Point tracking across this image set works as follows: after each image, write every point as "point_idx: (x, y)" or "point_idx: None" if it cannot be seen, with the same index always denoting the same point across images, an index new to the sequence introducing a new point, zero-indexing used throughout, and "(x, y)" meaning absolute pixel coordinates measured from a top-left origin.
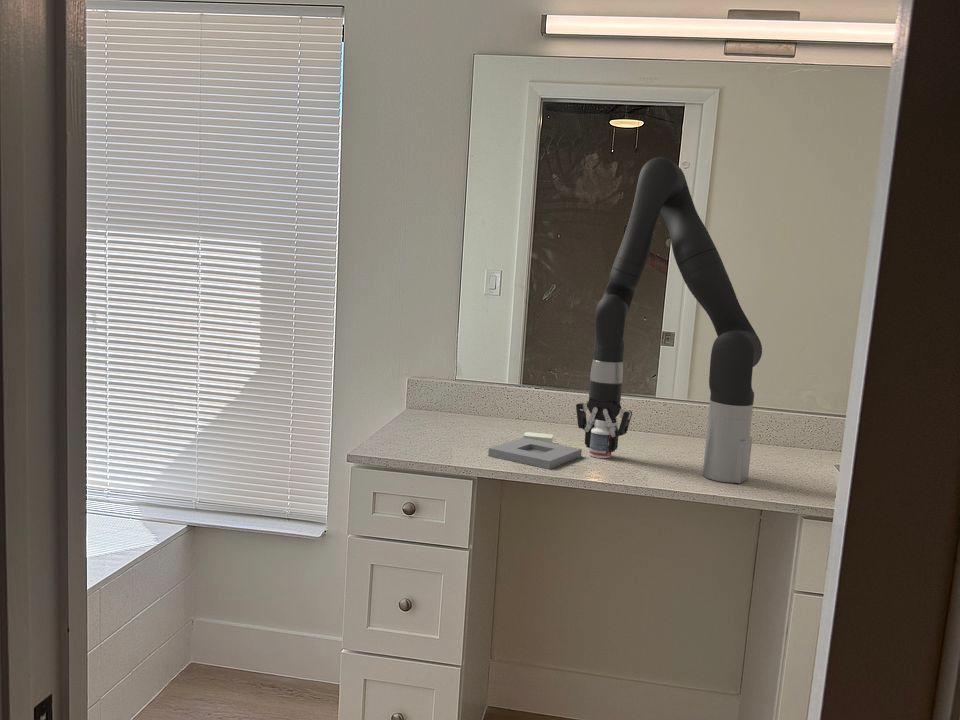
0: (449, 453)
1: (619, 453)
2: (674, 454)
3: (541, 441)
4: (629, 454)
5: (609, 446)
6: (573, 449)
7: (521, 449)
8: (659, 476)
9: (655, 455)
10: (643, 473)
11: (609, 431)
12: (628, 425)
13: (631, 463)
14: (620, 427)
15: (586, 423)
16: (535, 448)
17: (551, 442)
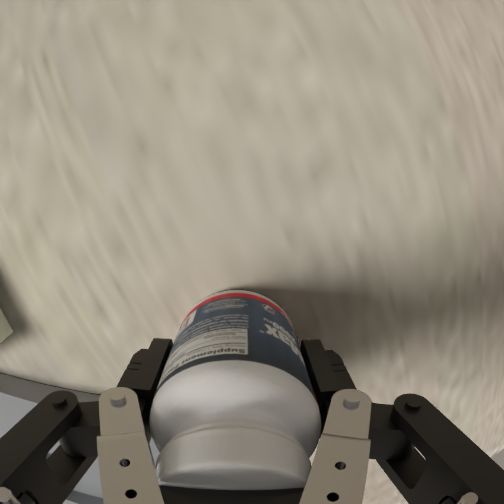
0: None
1: (293, 201)
2: (478, 39)
3: (8, 399)
4: (346, 180)
5: None
6: (156, 447)
7: (73, 501)
8: (486, 402)
9: (444, 106)
10: (449, 416)
11: (308, 457)
12: (461, 438)
13: (402, 345)
14: (403, 485)
15: (72, 419)
16: None
17: (2, 340)
